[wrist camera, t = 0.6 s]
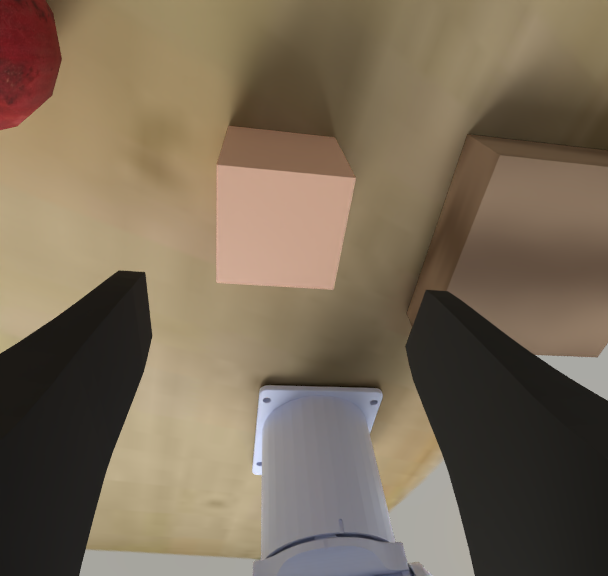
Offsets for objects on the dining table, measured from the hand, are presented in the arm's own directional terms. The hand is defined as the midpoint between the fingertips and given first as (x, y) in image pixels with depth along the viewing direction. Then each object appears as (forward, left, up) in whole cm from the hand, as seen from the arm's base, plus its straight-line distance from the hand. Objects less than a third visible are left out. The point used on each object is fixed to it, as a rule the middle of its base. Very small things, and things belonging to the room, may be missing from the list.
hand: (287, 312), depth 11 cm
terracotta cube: (0, 0, -10) cm, 10 cm away
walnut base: (-2, -13, -9) cm, 16 cm away
